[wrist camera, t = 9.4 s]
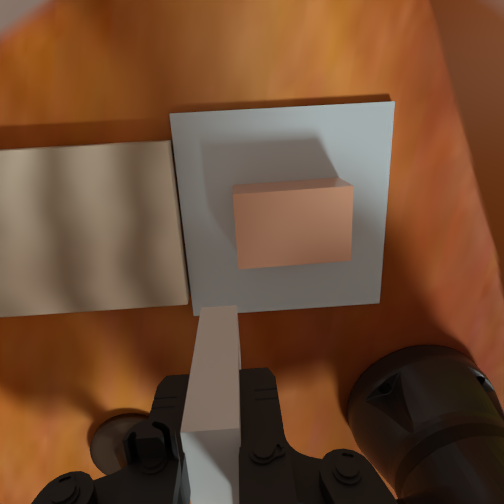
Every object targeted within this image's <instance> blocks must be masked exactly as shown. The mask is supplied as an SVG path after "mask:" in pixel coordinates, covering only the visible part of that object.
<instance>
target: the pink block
mask: <svg viewBox="0 0 504 504" xmlns="http://www.w3.org/2000/svg"><path fill="white" fill-rule="evenodd" d="M353 187H354V186H353V185H351V184H350V183H348V182H346V181H344V180H343V179H341V178H339V177H337V178H323V179H309V180H294V181H280V182H266V183H252V184H238V185H232V195H233V208H234V220H235V232H236V245H237V257H238V269H250V268H263V267H277V266H290V265H303V264H316V263H329V262H343V261H351V248H352V218H353Z"/></svg>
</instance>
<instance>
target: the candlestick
mask: <svg viewBox="0 0 504 504" xmlns="http://www.w3.org/2000/svg"><path fill="white" fill-rule="evenodd" d="M148 418H149V416H147V415H143V414H137V413H134V414H122V415H118V416H115V417H112V418H110V419H108V420H106V421H105V422H104V423H103V424H101V425H100V426H99V428H98V429H97V430H96V432H95V435H94V437H93V439H92V442H91V445H90V454H91V458H92V460H93V463H94V464H95V465H96V467H97V468H98V469H99V470H100V471H101V472H102V473H104V474H105V475H110V474H112V473H114V472H117V471H119V470H121V469H122V468H124V467H125V466H127V460H126V456H125V451H124V447H123V442H122V439H123V437H124V436H125V434H126V432H127V431H128V430H129V429H130V428H132V427H133V426H134V425H135V424H137V423H139V422H141V421H143V420H146V419H148Z"/></svg>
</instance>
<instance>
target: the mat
mask: <svg viewBox="0 0 504 504" xmlns="http://www.w3.org/2000/svg"><path fill="white" fill-rule="evenodd" d="M394 106H395V101H391V102H372V103H354V104H335V105H317V106H298V107H279V108H261V109H242V110H224V111H205V112H187V113H169V115H170V123H171V131H172V140H173V148H174V156H175V165H176V173H177V181H178V190H179V198H180V206H181V215H182V223H183V231H184V240H185V248H186V256H187V265H188V273H189V282H190V290H191V298H192V307H193V315H194V316H200V311H201V308H202V307H217V306H232V305H237V313H247V312H261V311H276V310H290V309H304V308H319V307H333V306H347V305H362V304H376V303H380V291H381V278H382V265H383V251H384V238H385V225H386V212H387V199H388V185H389V172H390V159H391V146H392V133H393V120H394ZM337 177H339V178H341V179H343V180H344V181H346V182H348V183H350V184H351V185H353V186H354V187H353V218H352V248H351V261H343V262H329V263H316V264H303V265H290V266H277V267H263V268H250V269H238V257H237V245H236V232H235V220H234V208H233V195H232V185H238V184H252V183H266V182H280V181H294V180H309V179H323V178H337Z"/></svg>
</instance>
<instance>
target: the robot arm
mask: <svg viewBox="0 0 504 504" xmlns="http://www.w3.org/2000/svg"><path fill="white" fill-rule="evenodd" d="M347 418H348V423H349V426H350V428H351V431H352V434H353V436H354V439H355V441H356V443H357V445H358V447H359V448H360V450H361V451H362V453H363V454H364V455H365V456H366V457H367V458H368V460H369V461H370V462H371V463H372V464H373V466H374V467H375V468H376V469H377V470H378V471H379V473H380V474H381V475H382V476H383V477H384V478H385V480H386V481H387V482H388V483H389V484H390V485H391V487H392V488H393V489H394V490H395V492H396V495H397V497H398V499H395V498H394V496H393V495H392V493H391V492H390V491H389V489H388V488H387V486H386V485H385V483H384V482H383V480H382V479H381V477H380V476H379V475H378V473H377V472H376V470H375V469H374V467H373V466H372V464H371V463H370V462H369V461H368V460H367V459H366V458H365V457H364V456H363V455H361V454H359V453H357V452H355V451H353V450H348V449H336V450H333V451H331V452H329V453H327V454H326V455H325V456H324V458H323V459H318V458H313V457H309V456H306V455H303V454H301V453H299V452H297V451H296V450H294V449H293V448H292V447H291V446H290V445H289V443H288V442H287V440H286V438H285V434H284V429H283V423H282V416H281V410H280V404H279V399H278V392H277V386H276V379H275V376H274V375H273V374H272V372H271V371H270V370H269V369H268V367H267V368H254V369H241V354H240V341H239V327H238V313H237V305H232V306H217V307H202V308H201V311H200V317H199V323H198V329H197V335H196V341H195V347H194V353H193V359H192V365H191V371H190V374H185V375H172V376H166V377H165V378H164V379H163V380H162V382H161V383H160V384H159V385H158V386H157V390H156V393H155V397H154V401H153V404H152V408H151V411H150V415H149V418H148V419H146V420H143V421H141V422H139V423H137V424H135V425H134V426H133V427H132V428H130V429H129V430H128V431H127V432H126V434H125V436H124V437H123V439H122V442H123V447H124V451H125V456H126V460H127V466H125V467H124V468H122V469H121V470H119V471H117V472H114V473H112V474H110V475H107V476H104V477H101V478H99V479H96V480H92V478H91V477H90V475H89V474H87V473H84V472H82V471H75V472H69V473H66V474H63V475H60V476H59V477H57V478H55V479H54V480H52V481H51V482H49V483H48V484H47V485H46V486H45V487H44V488H43V489H42V490H41V491H40V493H39V494H38V495H37V497H36V498H35V499H34V501H33V502H32V503H31V504H190V500H191V504H504V411H503V409H502V407H501V404H500V402H499V400H498V397H497V395H496V393H495V390H494V388H493V386H492V384H491V382H490V381H489V379H488V378H487V377H486V375H485V374H484V373H483V372H482V371H481V370H480V369H479V368H478V367H477V366H476V365H475V364H474V363H473V362H472V361H471V360H470V359H469V358H468V357H467V356H465V355H464V354H462V353H460V352H458V351H456V350H454V349H451V348H447V347H443V346H436V345H422V346H414V347H409V348H405V349H402V350H399V351H396V352H394V353H391V354H389V355H387V356H385V357H384V358H382V359H380V360H379V361H377V362H376V363H375V364H373V365H372V366H371V367H370V368H368V369H367V370H366V371H365V372H364V373H363V375H362V376H361V377H360V378H359V379H358V381H357V382H356V384H355V385H354V387H353V389H352V391H351V394H350V396H349V400H348V405H347Z"/></svg>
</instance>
